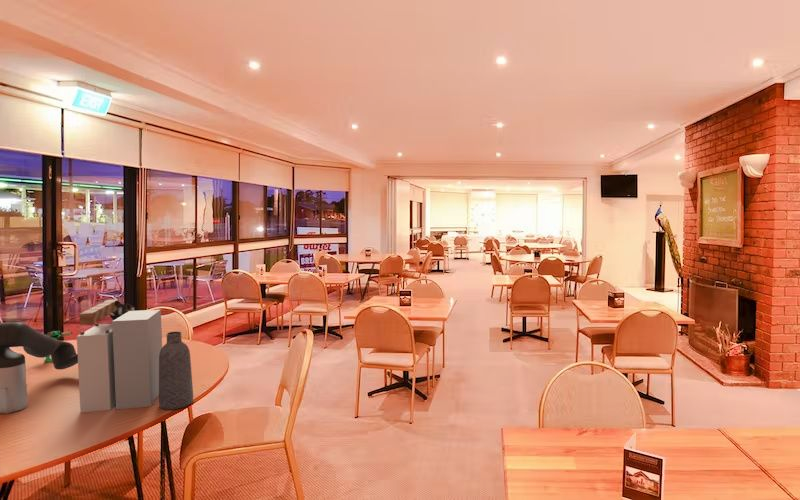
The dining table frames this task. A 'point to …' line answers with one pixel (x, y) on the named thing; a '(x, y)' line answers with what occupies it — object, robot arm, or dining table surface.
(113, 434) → the dining table surface
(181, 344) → the vase
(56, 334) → the toy
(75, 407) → the dining table surface
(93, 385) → the stand
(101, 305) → the batten
